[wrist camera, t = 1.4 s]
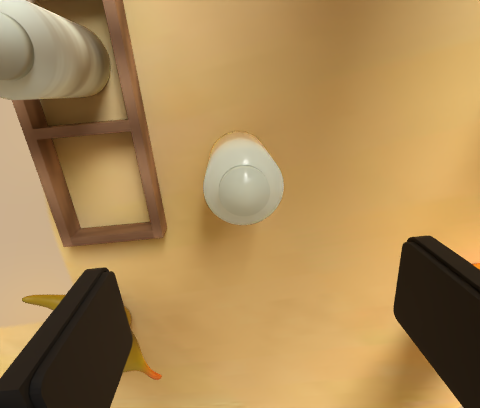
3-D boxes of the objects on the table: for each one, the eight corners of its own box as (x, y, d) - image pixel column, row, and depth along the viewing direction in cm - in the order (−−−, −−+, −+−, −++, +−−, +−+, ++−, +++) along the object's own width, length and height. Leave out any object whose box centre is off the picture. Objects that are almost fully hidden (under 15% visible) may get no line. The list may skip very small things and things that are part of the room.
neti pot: (158, 350, 34) (144, 407, 28) (38, 285, 30) (-10, 335, 24) (180, 328, 33) (170, 382, 27) (58, 257, 29) (14, 302, 23)
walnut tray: (-8, -11, 20) (-164, -79, 12) (118, -21, 21) (48, -95, 12) (74, 236, 28) (12, 297, 20) (167, 228, 28) (143, 284, 20)
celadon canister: (206, 134, 25) (196, 155, 17) (265, 128, 25) (285, 147, 17) (213, 190, 27) (207, 234, 19) (268, 185, 27) (287, 226, 19)
